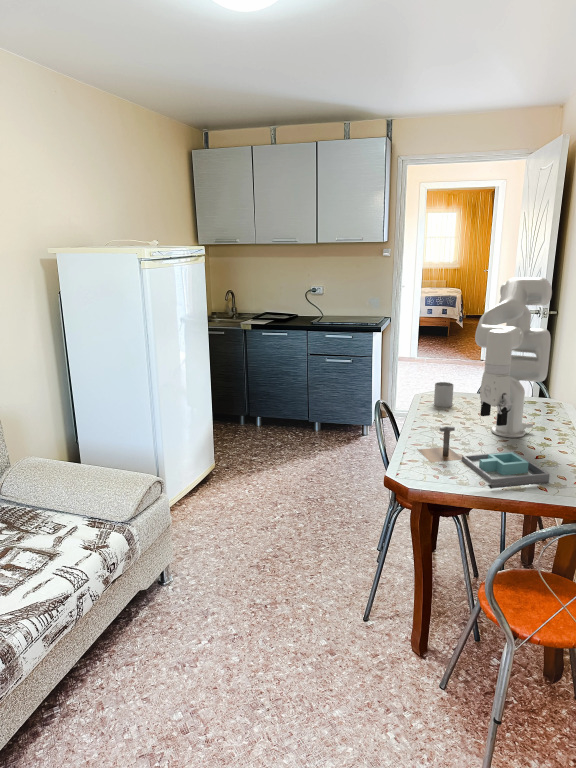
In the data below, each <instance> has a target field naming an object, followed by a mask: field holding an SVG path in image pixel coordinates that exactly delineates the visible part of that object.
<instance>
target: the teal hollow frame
mask: <svg viewBox="0 0 576 768" xmlns="http://www.w3.org/2000/svg"><path fill="white" fill-rule="evenodd" d="M507 452H508V453H500V452H496V453H497V454H488V453H487V454H488V459H479V463H478V467H479V468H481V469H482V470H483V471H485V472H486V473H488V472H497V473H498V474H500V475H501V476H509V475H517V474H518V475H519V474H527V473H529V472H528V464H529V462H527V461H526V460H524V459H523V458H521V457H519V456H518V455H516V454H515V453H513V452H512V451H507Z"/></svg>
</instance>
